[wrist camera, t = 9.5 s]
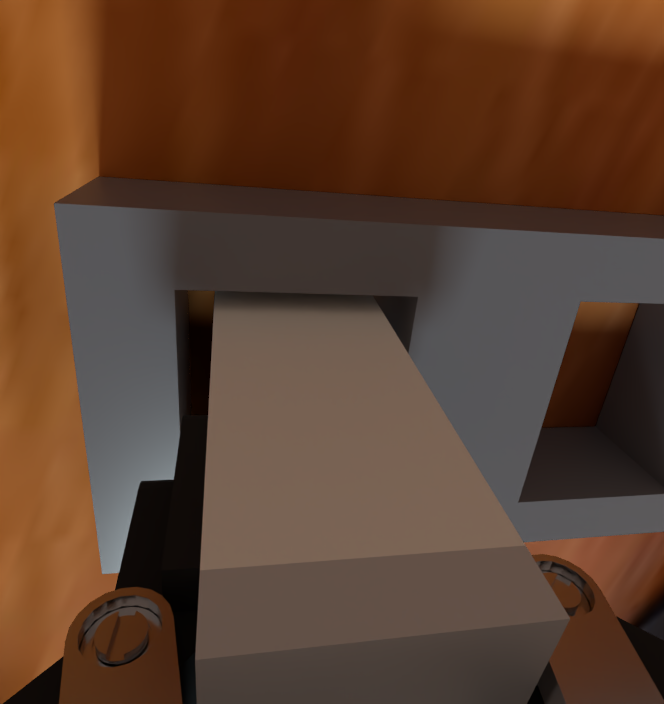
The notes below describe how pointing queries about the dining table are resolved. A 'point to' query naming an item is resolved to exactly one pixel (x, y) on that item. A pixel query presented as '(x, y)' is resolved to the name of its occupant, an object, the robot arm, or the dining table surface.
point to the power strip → (403, 315)
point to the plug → (351, 525)
